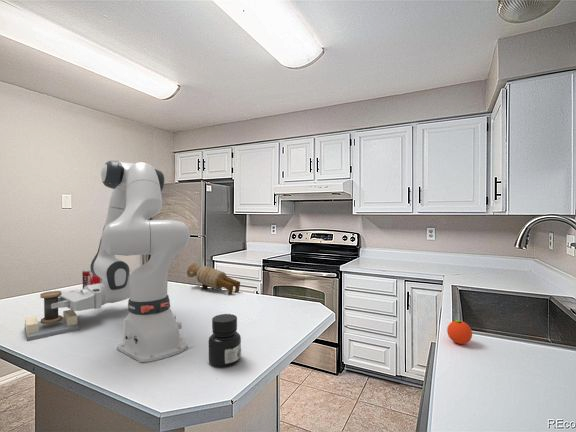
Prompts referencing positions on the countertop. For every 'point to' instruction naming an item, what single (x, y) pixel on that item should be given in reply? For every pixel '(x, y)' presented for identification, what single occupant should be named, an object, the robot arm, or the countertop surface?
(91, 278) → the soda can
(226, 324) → the ink bottle
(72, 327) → the terminal board
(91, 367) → the countertop surface
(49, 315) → the bobbin
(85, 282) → the red printed box
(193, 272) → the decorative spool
